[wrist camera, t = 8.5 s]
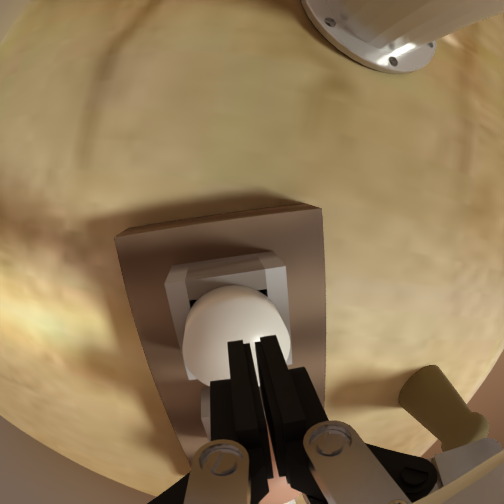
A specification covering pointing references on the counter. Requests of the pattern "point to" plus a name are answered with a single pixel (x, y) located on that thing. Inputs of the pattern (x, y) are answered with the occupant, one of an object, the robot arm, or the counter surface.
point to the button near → (228, 329)
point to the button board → (218, 275)
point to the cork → (442, 409)
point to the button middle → (278, 485)
